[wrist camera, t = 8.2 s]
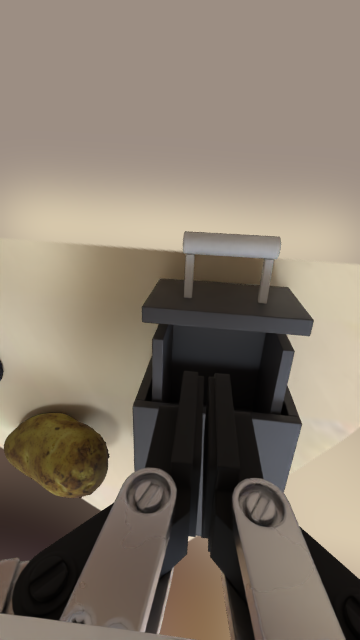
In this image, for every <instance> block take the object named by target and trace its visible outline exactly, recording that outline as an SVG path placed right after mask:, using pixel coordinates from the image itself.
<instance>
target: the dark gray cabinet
mask: <svg viewBox="0 0 360 640" xmlns="http://www.w3.org/2000/svg"><path fill="white" fill-rule="evenodd" d="M160 405H163V406H175V407H179V404H170V403H161V402H152V357H151V360H150V362H149V365H148V368H147V370H146V373H145V375H144V378H143V381H142V383H141V386H140V388H139V391H138V394H137V396H136V399H135V401H134V404H133V434H134V468H135V472H136V471H138V470H140V469H143V468H145V465H146V461H147V457H148V452H149V448H150V444H151V440H152V435H153V431H154V427H155V423H156V418H157V414H158V410H159V406H160ZM234 412H245V413H251V416H252V420H253V425H254V431H255V436H256V441H257V446H258V452H259V457H260V462H261V468H262V473H263V478H264V480H266V481H269V482H271V483H272V484H274V485H275V486H277V487H278V488H279V489H280V490H281V491H282V492H283V493H284V490H285V486H286V482H287V478H288V475H289V471H290V467H291V464H292V460H293V456H294V452H295V449H296V445H297V441H298V437H299V434H300V430H301V426H302V423H301V420H300V418H299V415H298V412H297V410H296V407H295V404H294V402H293V399H292V396H291V394H290V391H289V388H288V386H287V387H286V392H285V396H284V401H283V405H282V409H281V414H280V415H275V414H265V413H256V412H246V411H237V410H234ZM205 415H206V407H203V430H202V461H201V476H200V488H199V501H198V513H197V525H196V536H201V528H202V486H203V443H204V427H205Z"/></svg>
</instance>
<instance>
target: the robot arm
mask: <svg viewBox="0 0 360 640" xmlns="http://www.w3.org/2000/svg"><path fill="white" fill-rule="evenodd" d="M203 395H204V376H198V372H192V371H184V373H183V380H182V387H181V394H180V401H179V407H175V406H163V405H160V406H159V410H158V414H157V418H156V423H155V427H154V431H153V435H152V440H151V444H150V448H149V452H148V457H147V461H146V465H145V468H143V469H140V470H138V471H136V472H134V473H132V474H131V475H130V476H129V477H128V478H127V479H126V480H125V482H124V483H123V485H122V487H121V489H120V491H119V494H118V496H117V498H116V500H115V502H114V503H113V504H111V505H110V506H108V507H107V508H105V509H104V510H102V511H101V512H100V513H98V514H96V515H95V516H93V517H92V518H90V519H89V520H88V521H86V522H85V523H83V524H81V525H80V526H79V527H77V528H76V529H74V530H73V531H71V532H70V533H68V534H67V535H65V536H64V537H62V538H61V539H59V540H58V541H56V542H55V543H53V544H52V545H50V546H49V547H47V548H46V549H44V550H43V551H42V552H40V553H39V554H37V555H36V556H35V557H34V558H33V559H32V560H29V561H22V562H20V560H19V558H13V559H6V560H0V640H194V639H187V638H180V637H173V636H166V635H159V634H160V629H161V625H162V620H163V616H164V612H165V607H166V603H167V598H168V594H169V589H170V585H171V580H172V576H173V570H174V566H175V565H176V564H177V563H178V562H179V561H180V560H181V559H182V558H183V557H184V556H186V555H187V546H188V536H192V537H196V525H197V513H198V501H199V488H200V476H201V461H202V430H203ZM201 537H202V538H208V551H209V552H210V557H211V558H212V560H213V561H214V562H215V563H216V565H217V566H218V567H219V568H220V570H221V576H222V585H223V592H224V598H225V604H226V611H227V617H228V624H229V630H230V637H231V640H360V579H358V578H357V577H356V576H355V575H354V574H353V573H352V572H351V571H349V570H348V569H347V568H346V567H345V566H344V565H343V564H342V563H340V562H339V561H338V560H337V559H336V558H335V557H333V556H332V555H331V554H330V553H329V552H328V551H327V550H326V549H324V548H323V547H322V546H321V545H320V544H319V543H318V542H317V541H316V540H314V539H313V538H312V537H311V536H310V535H309V534H308V533H306V532H305V531H304V530H303V529H302V528H301V527H300V526H299V525H298V522H297V520H296V517H295V515H294V513H293V510H292V508H291V505H290V503H289V501H288V499H287V497H286V496H285V494H284V493H283V492H282V491H281V490H280V489H279V488H278V487H277V486H275V485H274V484H272V483H271V482H269V481H266V480H264V478H263V473H262V468H261V462H260V457H259V452H258V446H257V441H256V436H255V431H254V425H253V420H252V416H251V413H245V412H234V407H233V399H232V390H231V381H230V375H229V374H218V373H215V374H214V377H209V378H208V390H207V402H206V415H205V427H204V443H203V486H202V528H201Z"/></svg>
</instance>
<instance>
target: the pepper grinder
mask: <svg viewBox="0 0 360 640" xmlns="http://www.w3.org/2000/svg"><path fill="white" fill-rule="evenodd" d="M2 376H3V367H2V363H1V361H0V380H1V379H2Z"/></svg>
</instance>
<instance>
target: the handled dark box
mask: <svg viewBox="0 0 360 640" xmlns="http://www.w3.org/2000/svg"><path fill="white" fill-rule="evenodd" d="M280 248H281V239H280V237H275V236H258V235H240V234H222V233H204V232H186V231H185V232H184V238H183V253H185V254H186V264H185V280H175V279H159V281H158V283H157V284H156V286H155V287H154V289H153V290H152V292H151V294H150V295H149V297H148V298H147V300H146V301H145V303H144V305H143V306H142V322H145V323H157V324H159V325H158V327H157V330H156V332H155V334H154V337H153V339H152V402H161V403H170V404H179V401H180V394H181V387H182V380H183V373H184V371H192V372H198V376H204V395H203V407H206V402H207V390H208V378H209V377H214V374H215V373H218V374H229V375H230V381H231V390H232V399H233V407H234V410H237V411H246V412H256V413H265V414H275V415H280V414H281V409H282V405H283V401H284V396H285V392H286V387H287V383H288V378H289V374H290V370H291V365H292V361H293V356H294V352H295V351H294V349H293V347H292V345H291V343H290V341H289V339H288V337H287V335H286V334H290V335H302V336H310V334H311V330H312V326H313V322H314V320H313V319H312V317H311V316H310V315H309V314H308V312H307V311H306V310H305V308H304V307H303V306H302V305H301V303H300V302H299V301H298V299H297V298H296V297H295V296H294V294H293V293H292V292H291V290H290V289H289V288H288V287H275V286H270V281H271V275H272V269H273V263H274V260H273V259H277V258H278V256H279V254H280ZM195 254H201V255H217V256H233V257H249V258H264V262H263V268H262V275H261V281H260V285H246V284H232V283H218V282H203V281H193V276H194V260H195Z"/></svg>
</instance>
